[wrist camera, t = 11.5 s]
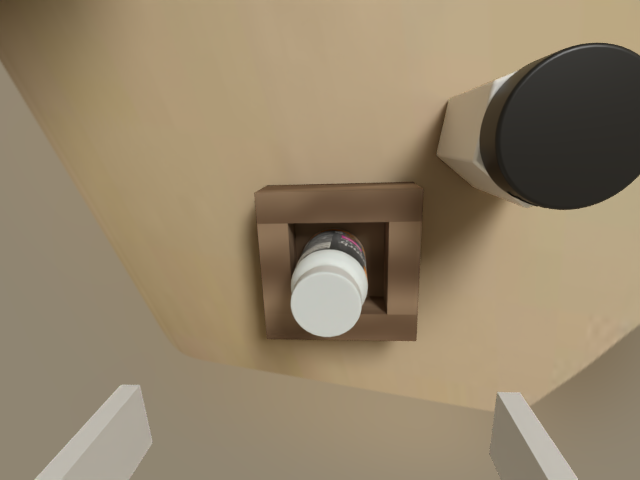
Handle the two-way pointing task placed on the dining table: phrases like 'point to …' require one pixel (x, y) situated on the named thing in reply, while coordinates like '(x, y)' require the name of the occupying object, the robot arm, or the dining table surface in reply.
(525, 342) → the dining table surface
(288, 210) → the socket block
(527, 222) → the dining table surface
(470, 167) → the jar
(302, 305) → the pill bottle
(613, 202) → the dining table surface
